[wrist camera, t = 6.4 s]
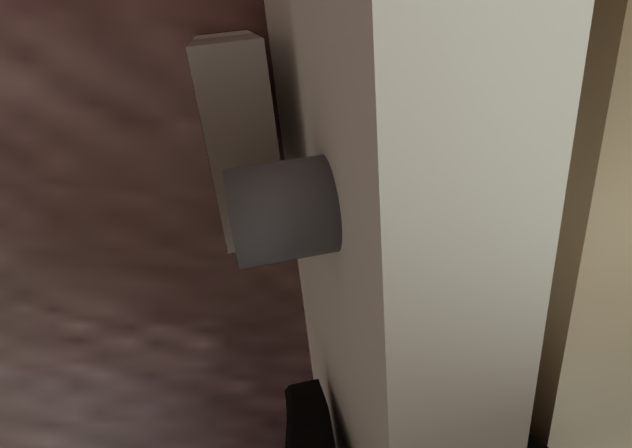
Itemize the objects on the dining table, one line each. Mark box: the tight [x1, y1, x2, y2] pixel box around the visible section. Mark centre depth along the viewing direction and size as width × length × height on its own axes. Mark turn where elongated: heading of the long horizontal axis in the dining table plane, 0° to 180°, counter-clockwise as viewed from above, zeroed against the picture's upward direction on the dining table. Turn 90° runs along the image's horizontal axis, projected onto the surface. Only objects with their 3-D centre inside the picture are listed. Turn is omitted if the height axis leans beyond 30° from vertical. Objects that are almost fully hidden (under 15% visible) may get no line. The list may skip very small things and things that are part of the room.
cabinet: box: [185, 0, 632, 448], centre depth 11 cm, size 20×15×6 cm
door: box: [222, 0, 595, 448], centre depth 9 cm, size 16×3×7 cm, turn 6°
